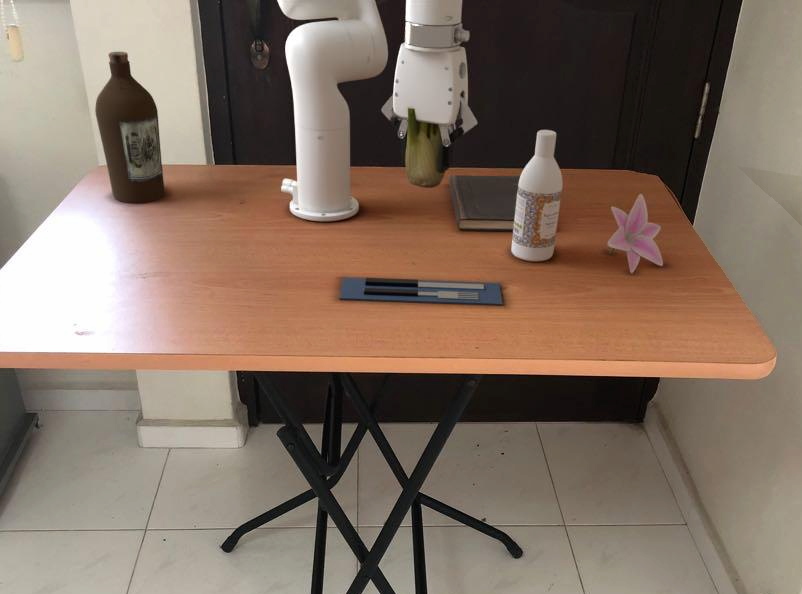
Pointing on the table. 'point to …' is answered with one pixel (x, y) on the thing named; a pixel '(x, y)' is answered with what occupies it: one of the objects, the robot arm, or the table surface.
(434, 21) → the robot arm
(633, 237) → the lily
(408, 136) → the fennel bulb
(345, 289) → the napkin
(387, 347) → the table surface
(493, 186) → the hardcover book
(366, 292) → the cutlery
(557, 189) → the bath foam
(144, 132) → the olive oil
